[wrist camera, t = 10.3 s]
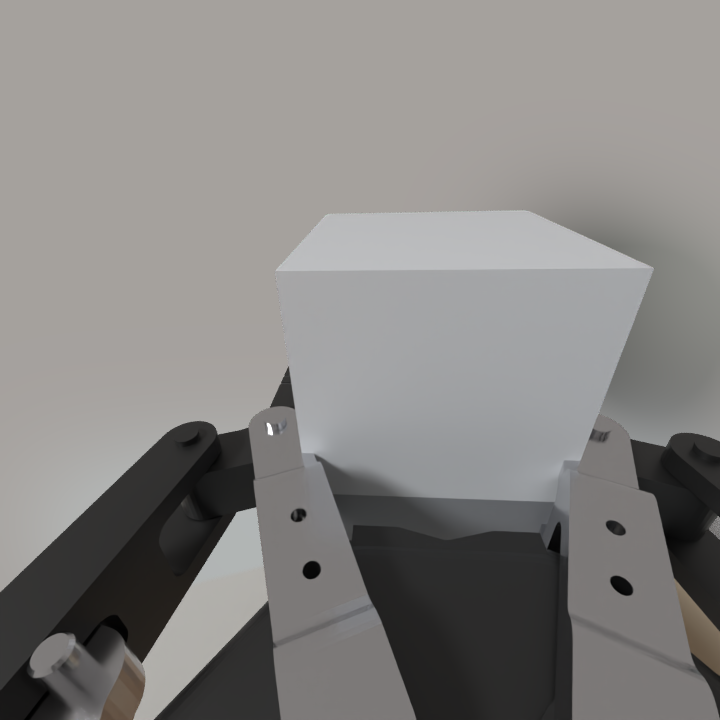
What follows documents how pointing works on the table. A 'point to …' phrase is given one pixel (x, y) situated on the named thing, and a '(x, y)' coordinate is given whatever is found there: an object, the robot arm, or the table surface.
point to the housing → (451, 361)
